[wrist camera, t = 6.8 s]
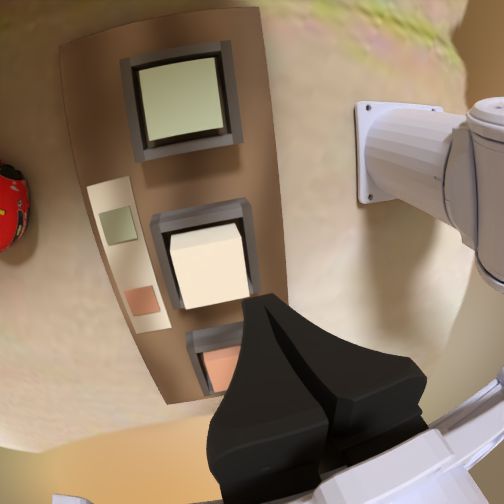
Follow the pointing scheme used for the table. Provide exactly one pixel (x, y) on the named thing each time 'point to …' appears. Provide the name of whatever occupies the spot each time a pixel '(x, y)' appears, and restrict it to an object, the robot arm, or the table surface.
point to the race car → (12, 206)
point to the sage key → (181, 98)
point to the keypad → (176, 180)
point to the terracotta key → (221, 366)
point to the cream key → (209, 265)
